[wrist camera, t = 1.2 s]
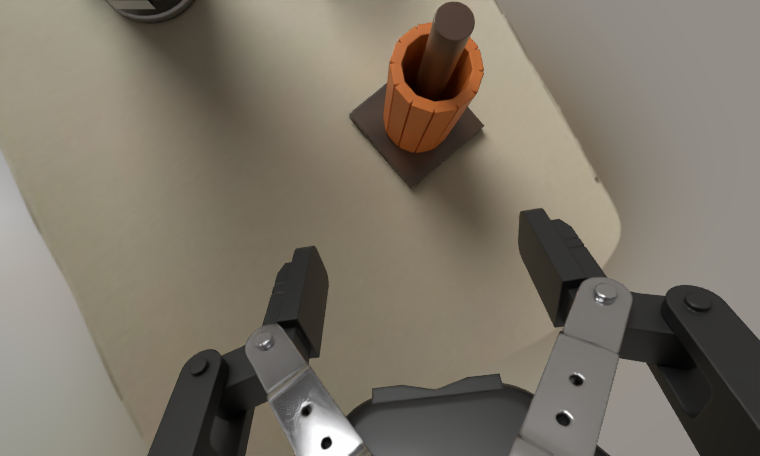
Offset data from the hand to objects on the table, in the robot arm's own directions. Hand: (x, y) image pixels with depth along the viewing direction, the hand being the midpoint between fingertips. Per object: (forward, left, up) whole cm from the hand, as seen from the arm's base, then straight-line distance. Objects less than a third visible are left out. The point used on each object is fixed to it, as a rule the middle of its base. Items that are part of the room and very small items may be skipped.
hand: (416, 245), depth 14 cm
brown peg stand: (-7, +10, -19) cm, 23 cm away
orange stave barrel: (-7, +10, -18) cm, 22 cm away
